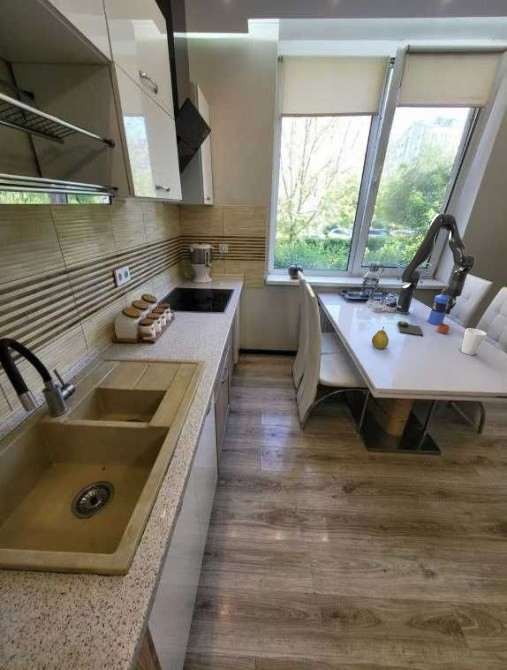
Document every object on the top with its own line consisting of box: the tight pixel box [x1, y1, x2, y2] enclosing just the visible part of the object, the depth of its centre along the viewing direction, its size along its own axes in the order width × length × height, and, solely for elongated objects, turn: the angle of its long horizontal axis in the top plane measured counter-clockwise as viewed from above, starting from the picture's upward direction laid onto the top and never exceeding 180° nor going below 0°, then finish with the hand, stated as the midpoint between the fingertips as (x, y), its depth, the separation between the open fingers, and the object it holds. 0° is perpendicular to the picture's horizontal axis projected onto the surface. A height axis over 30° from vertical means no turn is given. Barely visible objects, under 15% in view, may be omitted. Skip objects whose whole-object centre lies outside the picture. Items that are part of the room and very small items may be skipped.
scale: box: [397, 320, 423, 337], centre depth 186 cm, size 16×14×2 cm
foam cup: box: [461, 327, 488, 356], centre depth 156 cm, size 10×9×13 cm
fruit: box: [371, 326, 390, 350], centre depth 159 cm, size 9×9×12 cm
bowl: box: [436, 323, 451, 335], centre depth 183 cm, size 6×6×5 cm
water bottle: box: [427, 288, 449, 326], centre depth 195 cm, size 9×9×25 cm
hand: (446, 313), depth 179 cm, fingers closed
